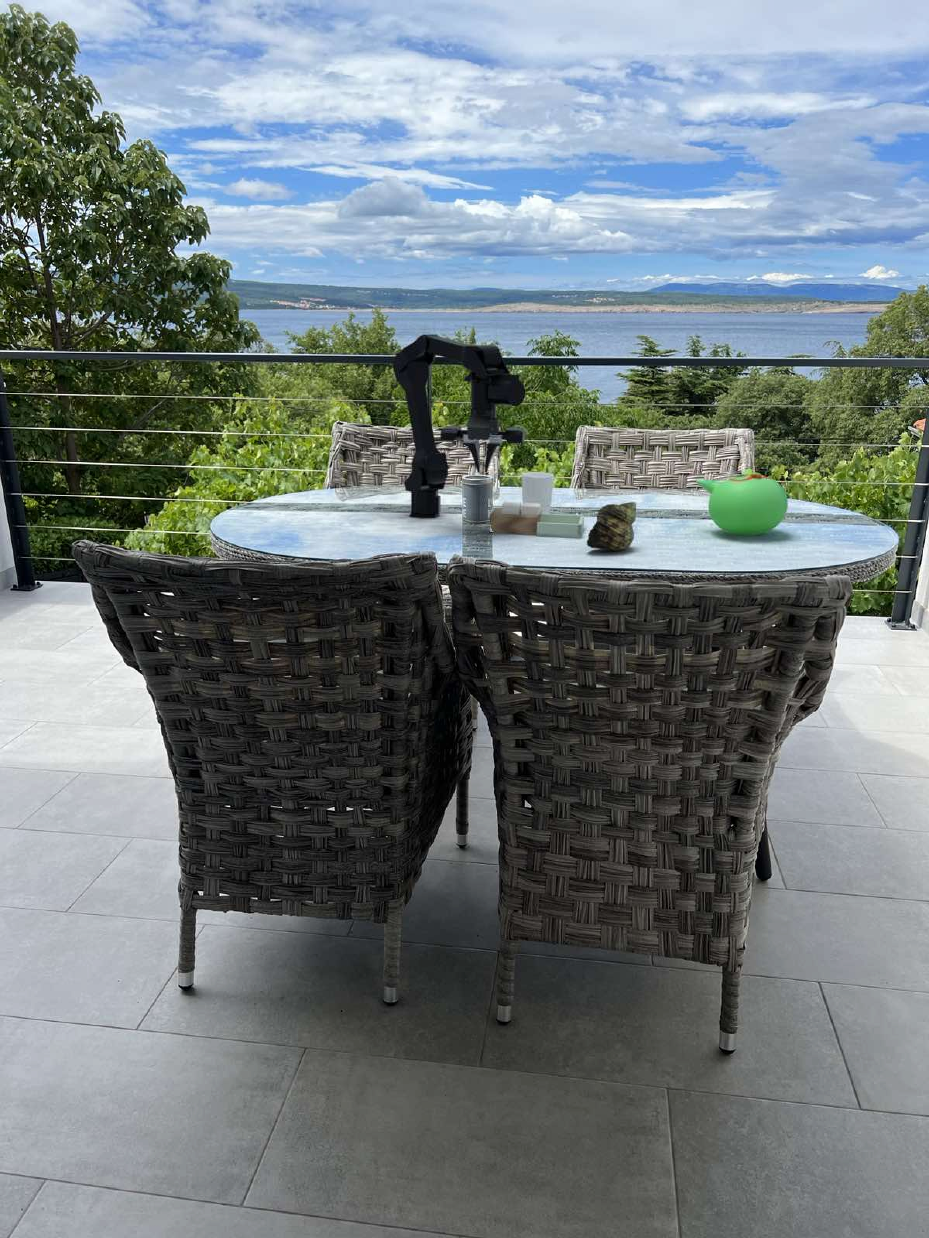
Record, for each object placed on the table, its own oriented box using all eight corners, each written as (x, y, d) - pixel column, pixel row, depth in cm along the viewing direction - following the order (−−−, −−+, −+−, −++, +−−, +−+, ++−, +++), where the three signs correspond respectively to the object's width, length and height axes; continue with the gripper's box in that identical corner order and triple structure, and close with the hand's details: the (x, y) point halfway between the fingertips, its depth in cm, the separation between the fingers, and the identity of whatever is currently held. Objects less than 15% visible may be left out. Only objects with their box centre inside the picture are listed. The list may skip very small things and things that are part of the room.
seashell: (577, 544, 217) (580, 498, 214) (629, 543, 218) (631, 498, 215) (587, 555, 207) (590, 508, 204) (641, 555, 208) (644, 508, 205)
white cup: (550, 518, 243) (551, 477, 240) (518, 516, 244) (519, 476, 241) (554, 512, 250) (555, 472, 247) (523, 510, 252) (524, 471, 249)
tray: (536, 536, 224) (537, 522, 223) (541, 526, 234) (541, 513, 233) (581, 538, 222) (581, 525, 221) (583, 527, 232) (584, 515, 232)
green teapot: (738, 545, 217) (745, 478, 213) (688, 530, 231) (693, 467, 227) (799, 537, 225) (806, 473, 221) (747, 523, 239) (753, 463, 235)
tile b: (521, 514, 226) (521, 506, 226) (523, 511, 230) (523, 502, 230) (538, 515, 226) (539, 506, 225) (540, 512, 230) (540, 503, 229)
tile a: (501, 513, 227) (502, 505, 226) (504, 510, 231) (504, 502, 230) (519, 514, 226) (519, 506, 226) (521, 511, 230) (521, 502, 230)
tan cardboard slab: (489, 532, 226) (489, 515, 225) (494, 524, 235) (494, 508, 234) (537, 535, 225) (537, 517, 223) (540, 526, 233) (541, 510, 232)
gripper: (435, 405, 216) (435, 476, 221) (520, 407, 213) (518, 479, 218) (445, 401, 227) (444, 469, 231) (526, 403, 224) (524, 472, 228)
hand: (482, 472), depth 227 cm, fingers closed
